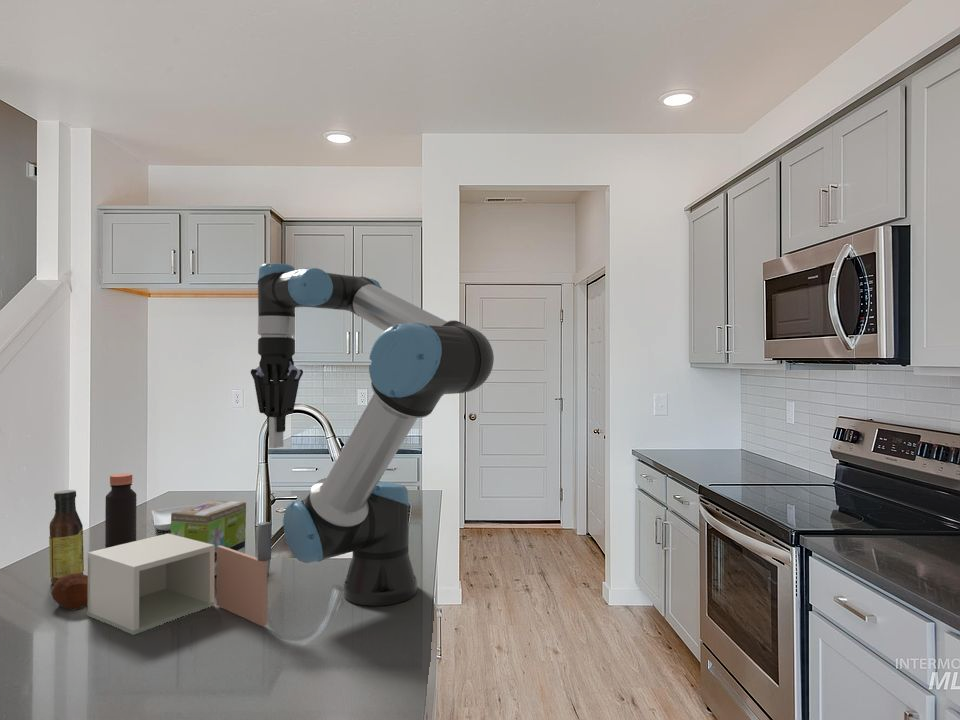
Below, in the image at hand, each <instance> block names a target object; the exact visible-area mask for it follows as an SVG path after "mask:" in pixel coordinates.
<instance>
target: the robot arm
mask: <svg viewBox="0 0 960 720" xmlns="http://www.w3.org/2000/svg"><path fill="white" fill-rule="evenodd" d="M257 306H258V307H257V313H258V317H257V321H258V322H257V335H258V336H260V337H258V340H257V353H258V355H260V360H259V365H258V366H257V367H256V368H254V369H253V368H252V369H251V370H250V375H251V377H252V379H253V382H254V387H255V394H256V400H257V404H258V411H259V413H260V414H263V415H265V417H267V418H266V424H267V425H266V430H267V432H268V449H277V448H283V447H284V432H285V431H286V418H287V416H288V415H291V414H293V413H294V411H295V410H294V409H295V405H296V400H297V395H298V389H299V385H300V380H301V378H302V376H303V374H304V371H303V369H298V368H297V367H296V366H295V362H294V359H293V356H294V355H295V353H296V340H295V339H294V337H293V336H295V331H296V308H312V309H313V308H315V309H329V310H340V311H341V310H342V311H349V312H351V313H353V314H354V315H355V316H357V317H360V318H362V319H363V320H364V321H367V322H368V323H370V324H372V325H374V326H375V327H376V328H378V329H380V330H382V332H381V334H379V336H378V337H377V339H376V340H375V341H374V343H373V344H372V345H373V346H372V348H371V351H370V353H369V360H370V361H371V362H370V364H369V365H368V373H369V377H370V380H371V381H370V383H371V384H370V386H371V389H372V392H373V395H372V396H371V398H370V400H369V402H368V404H367V405H366V407H365V409H364V410H363V412H362V414H361V415H360V418H359V419H358V421H357V423H356V425H355V426H354V428H353V430H352V432H351V434H350V436H349V437H348V439H347V441H346V443H345V444H344V447H343V448H342V450H341V452H340V454H339V456H338V457H337V458H336V460H335V463H334V464H333V466H332V468H331V469H330V471H329V473H328V475H327V477H324V478H322V479H319V480H317V481H316V482H315V483H314V484H313V485H312V487H311V489H310V490H309V492H308V494H307V496H306V498H304V499H302V500H300V499H296V500H294V501H293V502H290V503H289V504H287V506H286V508H285V510H284V514H283V532H284V537H285V541H286V543H287V546H288V549H289V551H290V552H291V554H292V556H294V557H295V559H297V561H299V562H302V563H304V564H305V563H306V564H310V563H313V562H322V561H324V560H327V559H330V558H331V559H332V558H335V557H338V556H341V555H345V554H348V553H351V552H352V556H351V557H352V558H351V561H350V563H349V568H348V570H347V575H346V577H345V578H346V579H345V580H344V582H343V597H344V598H345V600H346V601H348V602H349V603H353V604H356V605H360V606H370V607H374V606H375V607H381V606H390V605H395V604H399V603H402V602H405V601H408V600H410V599H411V598H413V597H414V596H416V594H417V593H418V581H417V577H416V575H415V573H414V569H413V565H412V561H411V559H410V555H409V554H410V553H409V552H410V551H409V543H410V542H409V541H410V540H409V539H410V538H409V527H410V525H409V523H410V502H409V491H408V490H409V489H408V488H407V487H406V486H405V485H403V484H401V483H396V482H389V481H381V479H382V476H383V475H384V474H385V472H386V471H387V469H388V467H389V466H390V464H391V462H392V460H393V459H394V458H395V456H396V454H397V452H398V451H399V449H400V447H401V446H402V444H403V443H404V441H405V439H406V438H407V436H408V434H409V433H410V431H411V430H412V428H413V427H414V425H415V423H416V422H417V420H418V419H423V418H426V417H428V416H429V415H431V414H432V412H433V411H434V410H435V408H436V406H437V405H438V403H439V402H440V400H441V398H442V397H443V396H445V395H449V394H450V395H454V394H465V393H469V392H472V391H475V390H476V389H478V388H480V387H481V386H482V385H483V384H484V383H485V382H486V381H487V380H488V378H489V376H490V375H491V373H492V371H493V367H494V361H495V360H494V350H493V348H492V345H491V342H490V341H489V339H488V338H487V337H486V335H484V334H483V333H482V332H480V330H477V329H476V328H473V327H471V326H469V325H468V324H465V323H463V322H461V321H458V320H448V321H447V320H445V319H442V318H440V317H439V316H437V315H435V314H433V313H431V312H428V311H427V310H425V309H423V308H422V307H418V306H417V305H415V304H413V303H411V302H409V301H407V300H405V299H403V298H401V297H399V296H397V295H395V294H393V293H391V292H389V291H387V290H385V289H384V288H382V286H381V285H380V282H379V281H377V280H376V279H373V278H368V277H366V276H355V275H347V274H346V275H345V274H337V273H331V272H326V271H325V270H323V269H321V268H317V267H303V268H300V269H297V270H296V269H295V267H294V266H293V265H291V264H288V263H278V262H277V263H275V262H274V263H273V262H272V263H263V264H261V265H260V266H259V269H258V279H257Z"/></svg>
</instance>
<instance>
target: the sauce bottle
mask: <svg viewBox="0 0 960 720" xmlns="http://www.w3.org/2000/svg"><path fill="white" fill-rule="evenodd" d="M76 497H77V491H76V490H75V489H68V490H67V489H65V490H64V489H63V490H60V491H55V492H54V493H53V499H54V502H55V505H54V507H55V510H54V512H55V513H54V515H53V517H52V519H51V521H50V522H49V537H48V538H49V539H48V543H49V546H48V547H49V578H50V582H51V583H50V584H52V585H53V586H54V584H55V583H56V581H57V580H58V579H60V578H61V577H63V576H66V575H69V574H76V573H81V574H84V571H85V569H84V568H85V563H84V562H85V561H84V559H85V558H84V532H83V531H84V527H83V526H84V525H83V523H82V520H81V518H80V516H79V514H78V511H77V507H76Z"/></svg>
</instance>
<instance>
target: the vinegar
mask: <svg viewBox="0 0 960 720" xmlns="http://www.w3.org/2000/svg"><path fill="white" fill-rule="evenodd" d="M132 485H133V473H116V474H112V475H109V487H110V488H111V489H110V491H109V492H108V493H107V494H106V495H105V506H104V507H105V512H104V513H105V515H104V516H105V525H104V527H105V529H104V531H105V534H104V535H105V540H104V541H105V543H104V546H105V548H109V547H113V546H117V545H121V544H126V543H130V542H134V541H137V493H136V492H135V491H134V489H132V487H131V486H132ZM105 548H104V549H105Z"/></svg>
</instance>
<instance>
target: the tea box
mask: <svg viewBox="0 0 960 720" xmlns="http://www.w3.org/2000/svg"><path fill="white" fill-rule="evenodd" d="M246 516H247V502H246V501H234V500H233V501H232V500H215V499H214V500H212V499H211V500H208V501H206V502H203V503H198V504H195V506H192V507H189V508H186V509H183V510H180V511H176V512H173V513H171V531H170V534H172V535H176V536H180V537H184V538H188V539H192V540H196V541H200V542H204V543H208V544H212V545H215V552H214V577H215V576H217V546H220V545H221V546H224V547H227V548H230V549H233V550H236V551H239V552H242V553H245V554H246V529H247V528H246V527H247V526H246V524H247V519H246V518H247V517H246Z"/></svg>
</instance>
